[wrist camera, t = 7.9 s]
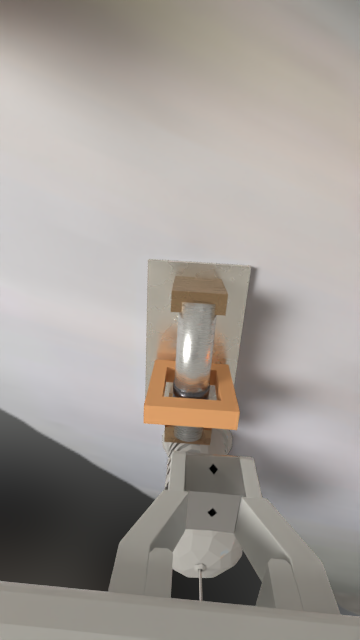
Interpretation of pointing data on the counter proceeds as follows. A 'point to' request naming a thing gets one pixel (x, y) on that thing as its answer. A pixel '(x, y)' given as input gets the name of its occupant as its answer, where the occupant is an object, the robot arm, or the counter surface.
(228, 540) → the french press
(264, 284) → the counter surface
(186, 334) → the pipe rig
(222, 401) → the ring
